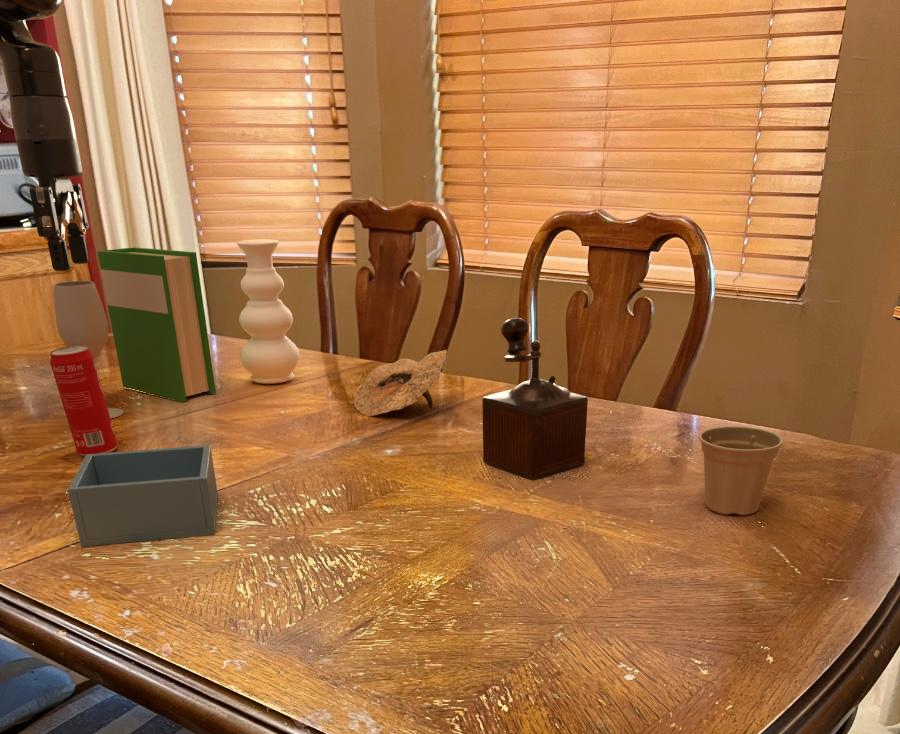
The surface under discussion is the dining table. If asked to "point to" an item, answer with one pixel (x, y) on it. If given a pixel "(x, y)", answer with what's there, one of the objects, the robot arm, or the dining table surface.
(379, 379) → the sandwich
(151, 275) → the hardback book
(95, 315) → the wineglass
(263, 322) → the vase
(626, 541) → the dining table surface
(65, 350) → the beverage can
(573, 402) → the manual coffee grinder
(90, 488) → the open box
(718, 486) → the flower pot
